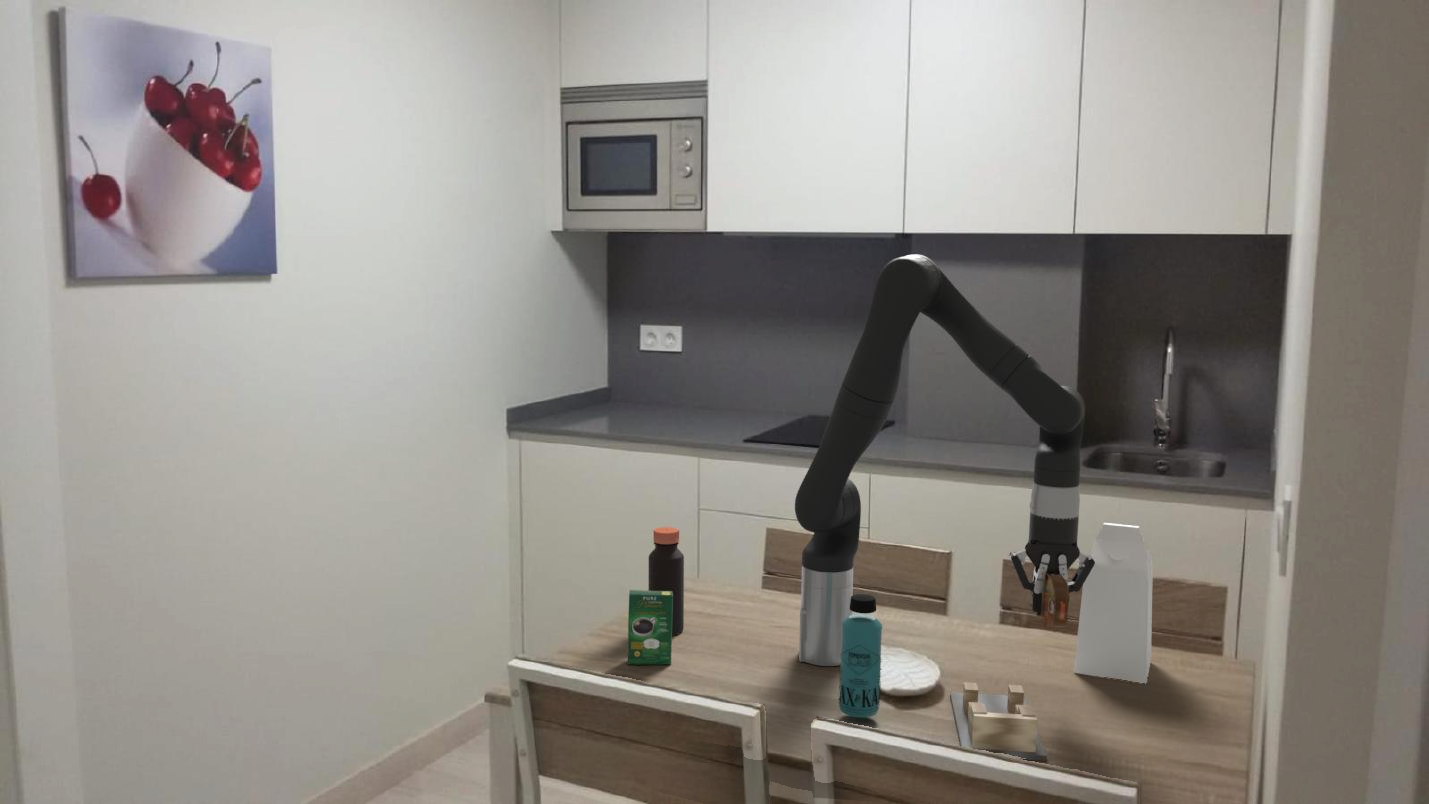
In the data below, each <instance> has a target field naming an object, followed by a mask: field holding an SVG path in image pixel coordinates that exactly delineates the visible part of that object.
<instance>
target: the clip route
mask: <svg viewBox="0 0 1429 804" xmlns="http://www.w3.org/2000/svg"><path fill="white" fill-rule="evenodd" d="M962 689H963V690H962V692H951V691H950V692H949V698H950V702H951V707H952V708H951V709H952V711H953V716H954V717H953V718H954V721H955V726H956V731H957V736H958V740H960V741H959V745H961V746H964V747H969V748H973V749H978V750H986V751H989V752H993V753H1004V754H1009V755H1012V756H1018V757H1021V758H1026V759H1028V760H1027V761H1041V762H1044V761H1045V762H1047V761H1048V755H1047V752H1046V749H1045V746H1044V743H1043V741H1042V740H1041V736H1040V734H1039V731H1038V728H1037V727H1038V717H1037V716H1036V713H1035V710H1034V709H1033V706H1030V705H1029V704H1028V702H1027V700H1026V697H1025V691H1024V689H1023V686H1022V685H1020V684H1019V685H1018V684H1008V685H1007V695H1004V694H988V693H985V694H984V693H979V687H978V684H977V682H966V681H965V682H964V681H963V687H962ZM961 746H960V747H961Z"/></svg>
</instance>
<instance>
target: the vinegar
mask: <svg viewBox="0 0 1429 804" xmlns="http://www.w3.org/2000/svg"><path fill="white" fill-rule="evenodd" d="M679 542H680V529H679V528H677V527H670V526H668V527H667V526H663V527H656V528H654V529H653V545H654V549H653V550H651V552H650V553H649V554H648V591H672V592H673V618H672V637H673V636H676V635H679V634H681V633H682V632H683V631H684V624H685V623H684V621H685V619H684V614H685V613H684V609H685V607H684V606H685V603H684V601H685V599H684V598H685V595H684V594H685V592H684V591H685V557H684V556H685V555H684V554H683V552H681V550H680V549H679V548H678V545H679V544H680V543H679Z"/></svg>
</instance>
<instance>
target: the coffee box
mask: <svg viewBox="0 0 1429 804" xmlns="http://www.w3.org/2000/svg"><path fill="white" fill-rule="evenodd" d="M628 593H629V594H628V621H627V665H637V666H640V665H658V666H663V665H670V666H671V665H672V644H673V643H672V642H673V640H672V639H673V638H672V637H673V636H672V618H673V592H672V591H649V590H641V589H640V590H639V589H638V590H636V589H635V590H634V589H630V590H629V592H628Z"/></svg>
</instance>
